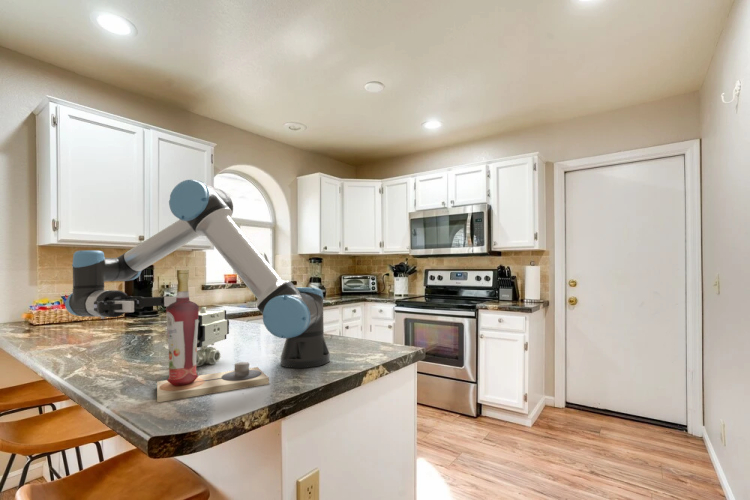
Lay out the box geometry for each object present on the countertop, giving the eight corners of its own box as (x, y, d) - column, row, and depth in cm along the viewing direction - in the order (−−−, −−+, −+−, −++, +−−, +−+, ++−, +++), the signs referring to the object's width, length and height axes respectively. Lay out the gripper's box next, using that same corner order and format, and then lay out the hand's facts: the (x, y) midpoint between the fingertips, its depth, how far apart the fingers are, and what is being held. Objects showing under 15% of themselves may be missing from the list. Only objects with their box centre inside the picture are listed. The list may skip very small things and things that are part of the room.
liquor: (204, 382, 96) (204, 269, 98) (174, 389, 91) (174, 270, 92) (190, 377, 101) (189, 270, 102) (160, 384, 95) (160, 270, 96)
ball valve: (199, 371, 113) (199, 310, 114) (173, 370, 115) (173, 310, 116) (233, 357, 131) (233, 304, 132) (211, 356, 132) (210, 304, 133)
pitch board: (257, 372, 111) (257, 356, 111) (269, 383, 99) (268, 365, 99) (157, 387, 98) (157, 369, 98) (157, 402, 87) (157, 382, 87)
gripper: (150, 311, 122) (198, 312, 113) (57, 323, 99) (108, 325, 90) (150, 287, 122) (198, 286, 113) (57, 293, 99) (108, 293, 90)
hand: (158, 303), depth 101 cm, fingers open, 13 cm apart
